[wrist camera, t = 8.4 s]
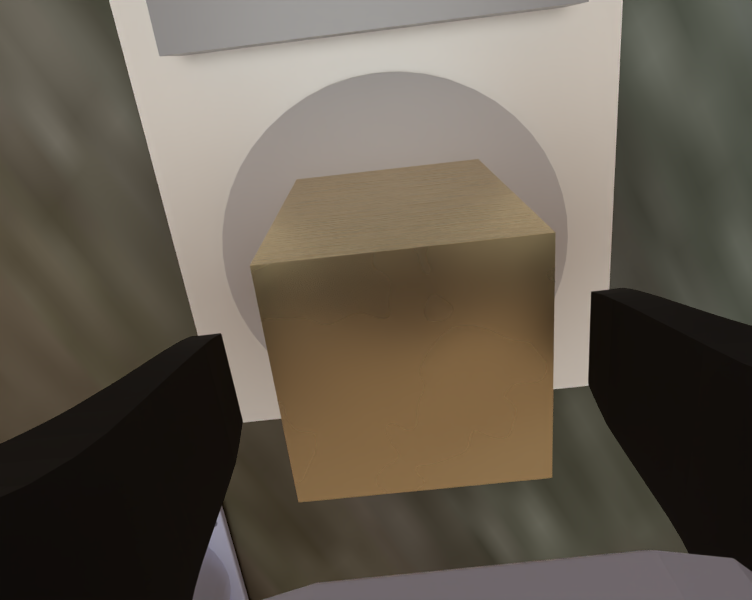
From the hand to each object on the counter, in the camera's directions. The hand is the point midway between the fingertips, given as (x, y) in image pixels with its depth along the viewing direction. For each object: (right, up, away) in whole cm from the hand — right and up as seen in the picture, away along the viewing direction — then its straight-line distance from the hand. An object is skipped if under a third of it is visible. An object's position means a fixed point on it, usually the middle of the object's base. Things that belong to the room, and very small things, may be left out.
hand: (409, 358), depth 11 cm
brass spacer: (0, +2, +6) cm, 6 cm away
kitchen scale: (0, +5, +7) cm, 9 cm away
